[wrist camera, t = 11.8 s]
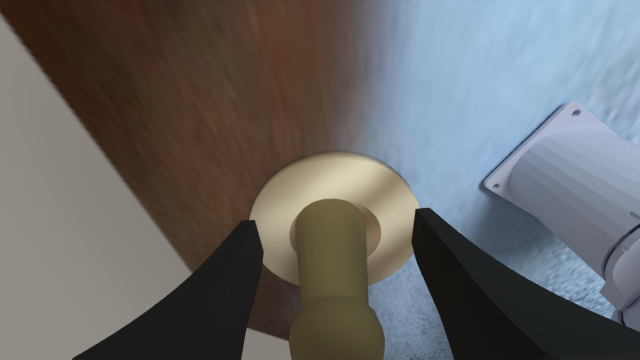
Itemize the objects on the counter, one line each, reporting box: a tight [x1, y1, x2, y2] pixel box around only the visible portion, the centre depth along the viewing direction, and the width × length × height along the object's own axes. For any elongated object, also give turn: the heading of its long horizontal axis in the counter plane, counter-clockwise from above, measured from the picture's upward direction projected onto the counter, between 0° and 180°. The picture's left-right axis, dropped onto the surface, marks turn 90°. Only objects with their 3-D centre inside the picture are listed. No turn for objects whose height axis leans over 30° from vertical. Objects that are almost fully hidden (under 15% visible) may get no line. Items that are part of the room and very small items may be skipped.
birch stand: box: [249, 151, 420, 286], centre depth 24 cm, size 15×15×2 cm
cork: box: [289, 198, 385, 360], centre depth 18 cm, size 6×6×11 cm
